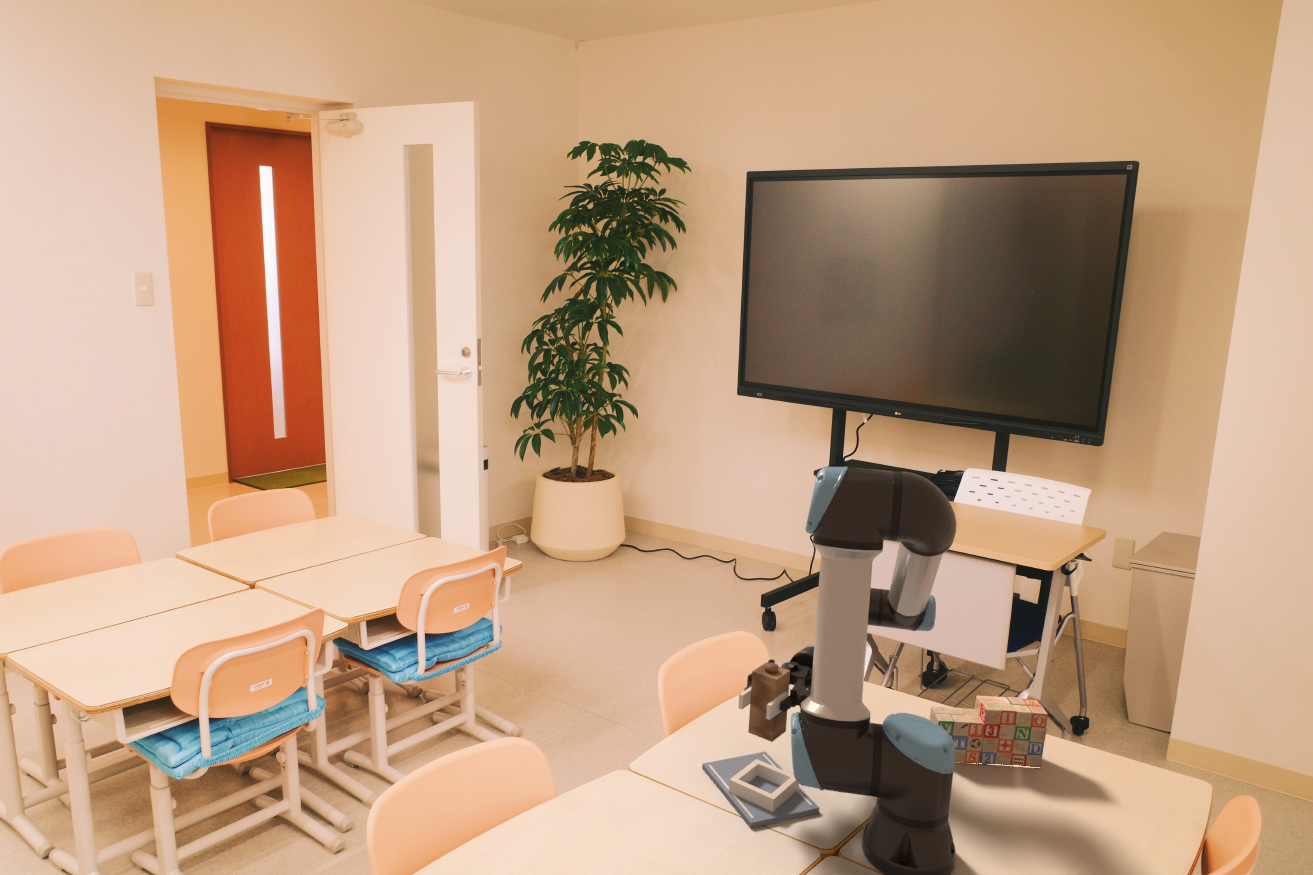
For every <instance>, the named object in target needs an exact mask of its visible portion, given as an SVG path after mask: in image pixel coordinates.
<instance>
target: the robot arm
mask: <svg viewBox="0 0 1313 875" xmlns="http://www.w3.org/2000/svg"><path fill="white" fill-rule="evenodd" d="M814 482H815V483H814V485H813V486H814V487H813V492H812V495H811V500H810V501H811V502H810V504H809V508H808V509H809V510H808V515H807V520H806V525H805V532H806V533H807V534H810V535H813V537H812V545H813V547H814V548H815V549H816V550H817V551H818V552H819V555H820V563H819V564H820V565H819V576H818V577H819V578H818V579H819V580H818V590H817V591H818V593H817V602H816V604H817V606H816V618H815V633H814V641H813V642H811V643H809V644H808V645H807V646H805V647H804V648H802V649H801V650H799V651H798V652H796V653H794V655H793V656H792V658H790V661H787V662H783V663H782V664H778V663H776V661H775V659H772V658H771V659H769V660H768V662H767V663H775V664H777V665H778V667H781V668H784V669H787V670H790V681H789V686H790V685H791V686H793V687H792V689H791V688H789V693H788V692H784V693H782V694H781V695H780V696H778V697H777V698H775V699H774V700H772V701H771V702H770V703H768V704H767V711H766V719H768V720H770V719H772V718H773V717H774V716H776V715H777V714H779V713H780V712H781V711H787V712H788V710H790V709H791V708H795V707H797V706H798V707H799V708H800V710H799V711H800V712H799V711H796V712H793V713H792V714H791V718H790V730H791V731H790V732H791V733H790V735H791V737H790V743H791V744H790V745H791V762H792V771H793V773H792V774H793V775H794V777H795V779H796V781H797V782H798V783H799V785H801V786H804V787H808V788H813V789H818V790H819V791H831V792H838V793H843V794H851V795H859V796H867V797H873V798H876V804H875V806H874V808H873V810H872V812H871V814H870V818H869V820H868V822H867V823H866V825H865V826H864V828H863V832H862V839H861V840H862V841H861V849H862V851H863V855H864V856H865V858H866V860H868V862H869V863H871V865H872V866H873V867H875V868H876V869H877V870H878V871H880V872H882V873H883V874H885V875H951V874H952V873H953V871H954V869H955V864H956V854H957V853H956V847H955V846H956V845H955V843H954V838H953V837H954V836H953V834H952V830H951V827H950V822H949V814H950V806H951V805H950V804H951V796H952V789H953V788H952V787H953V780H954V779H953V777H954V772H955V771H956V770H955V769H956V763H955V745H954V742H953V739H952V738H951V736H950V735H949V734H948V732H947V731H946V730H944V729H943V728H942V727H940V726H939V725H937V724H936V723H934V722H933V721H931V720H930V718H929V719H928V718H926V717H923V716H921V715H917V714H914V713H908V712H896V713H891V714H889V715H887V716H886V717H884V718H885V719H884V720H883V721H882V723H875V722H871V711H870V710H869V708H868V707H867V706H866V705H865V703H864V702H863V694H864V693H863V692H864V680H865V665H866V652H867V641H868V640H867V639H868V626H872V627H873V626H874V627H882V628H884V627H885V628H889V629H890V628H891V629H892V628H893V629H900V630H905V631H912V632H917V631H919V632H920V631H921V632H930V631H932V630H933V629H934V627H935V622H936V612H937V603H936V602H937V601H936V598H935V596H934V595H933V594H932V590H933V587H934V584H935V580H936V577H937V573H938V571H939V567H940V565H941V561H942V557H943V554H945V553H947V551H948V550H949V549H950V548H951V547H952V545H953V543H954V540H955V536H956V534H957V518H956V514H955V511H954V509H953V506H952V504H951V502H950V500H949V499H948V497H947V496H946V494H945V493H944V492H943V491H942V490H941V488H939V487H938V486H937V485H936V484H934V483H933V482H932V481H931V480H929V479H927V478H925V477H924V476H922V475H919V474H917V473H913V472H909V471H893V470H883V469H882V470H881V469H874V468H873V469H870V468H858V467H848V466H826V467H822V468H821V469H820V470H819V471H818V472H817V473H816V478H815V481H814ZM884 541H892V542H896V541H897V542H899V546H898V550H897V554H896V559H895V563H894V564H895V565H894V568H893V573H892V579H891V582H890V585H889V589H885V588H875V587H871V586H872V573H873V572H872V571H873V561H874V559H875V558H876V557H877V556H879V555H880V554H881V553H882V552H883V551H884ZM746 682H747V683H746V684H747V685H746V686H745V687H744V689H743V691H742V692H741V693H739V694H738V709H739V710H744V709H745V708H746V707H748V706H750V700H751V684H752V672H751V673H750V674H748V675H747V681H746Z"/></svg>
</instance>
